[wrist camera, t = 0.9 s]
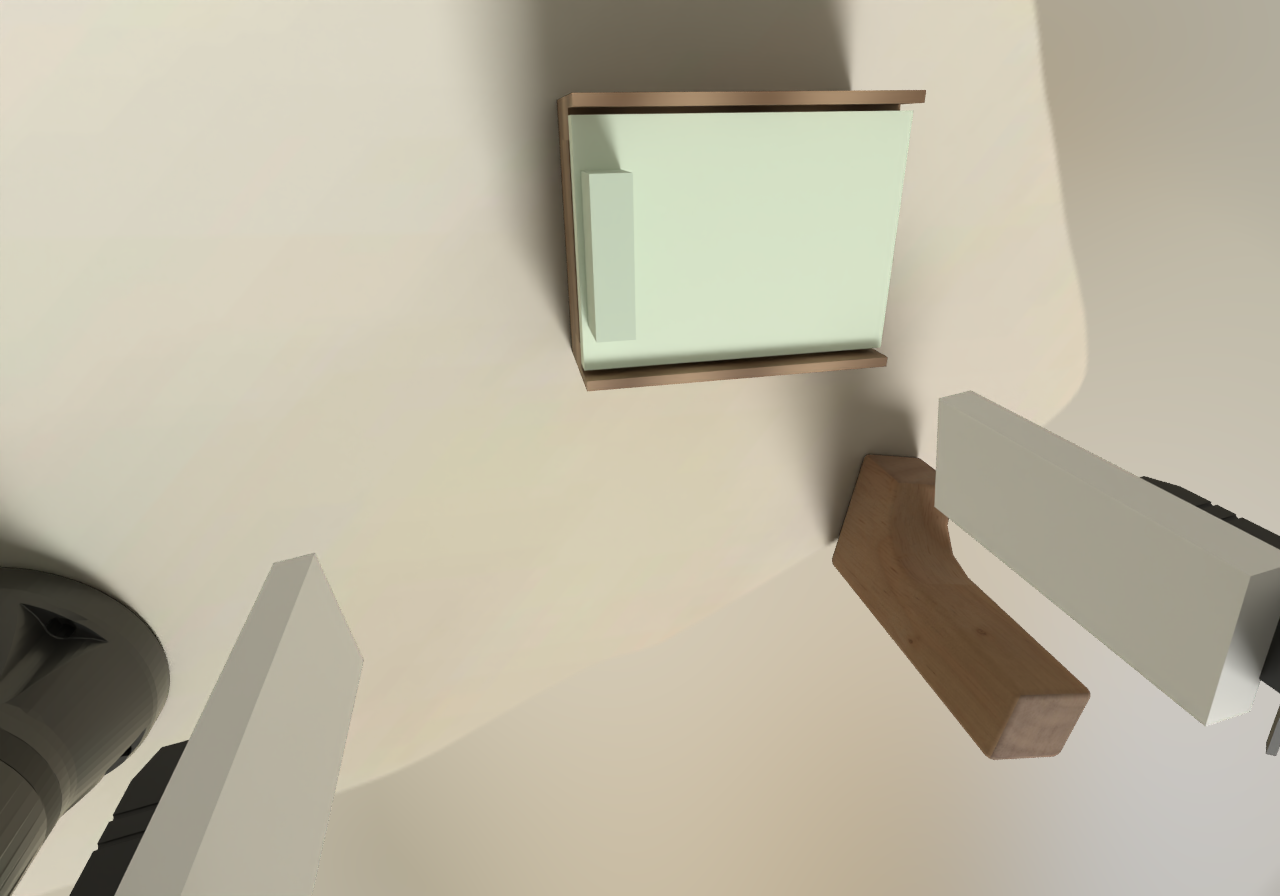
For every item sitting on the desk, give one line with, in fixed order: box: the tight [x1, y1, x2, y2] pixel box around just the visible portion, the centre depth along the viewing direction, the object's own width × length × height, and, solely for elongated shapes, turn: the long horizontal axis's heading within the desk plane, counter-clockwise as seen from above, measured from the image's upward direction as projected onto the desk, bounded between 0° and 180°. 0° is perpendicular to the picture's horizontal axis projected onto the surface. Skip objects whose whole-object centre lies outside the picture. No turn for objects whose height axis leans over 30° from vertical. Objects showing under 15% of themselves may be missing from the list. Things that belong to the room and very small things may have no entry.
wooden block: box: [832, 454, 1090, 760], centre depth 41 cm, size 9×4×18 cm, turn 170°
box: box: [557, 90, 926, 391], centre depth 35 cm, size 16×13×7 cm
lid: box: [568, 111, 913, 371], centre depth 32 cm, size 16×11×4 cm
